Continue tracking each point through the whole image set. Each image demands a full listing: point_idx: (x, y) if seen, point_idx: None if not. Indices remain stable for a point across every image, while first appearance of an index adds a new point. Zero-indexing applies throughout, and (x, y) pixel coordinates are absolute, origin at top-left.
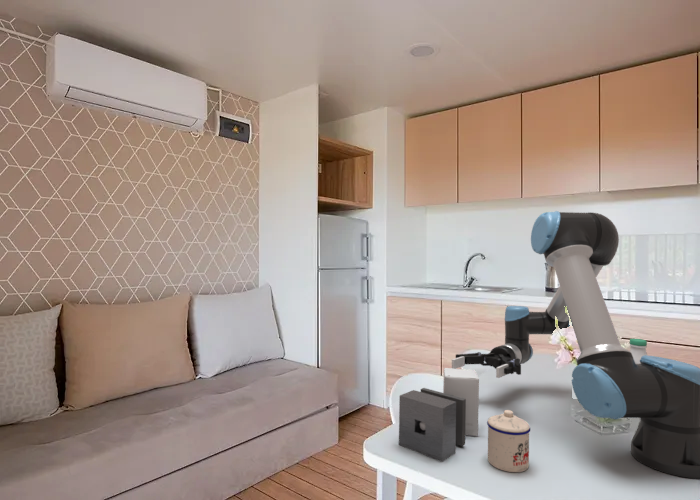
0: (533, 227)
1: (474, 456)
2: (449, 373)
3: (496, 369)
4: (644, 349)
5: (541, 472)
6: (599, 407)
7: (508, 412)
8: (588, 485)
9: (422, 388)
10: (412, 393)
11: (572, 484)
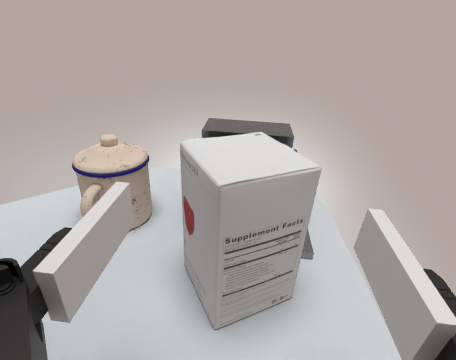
0: None
1: (173, 210)
2: (266, 141)
3: (129, 190)
4: None
5: (69, 215)
6: None
7: (108, 134)
8: (2, 215)
9: (296, 151)
10: (281, 130)
11: (30, 209)
